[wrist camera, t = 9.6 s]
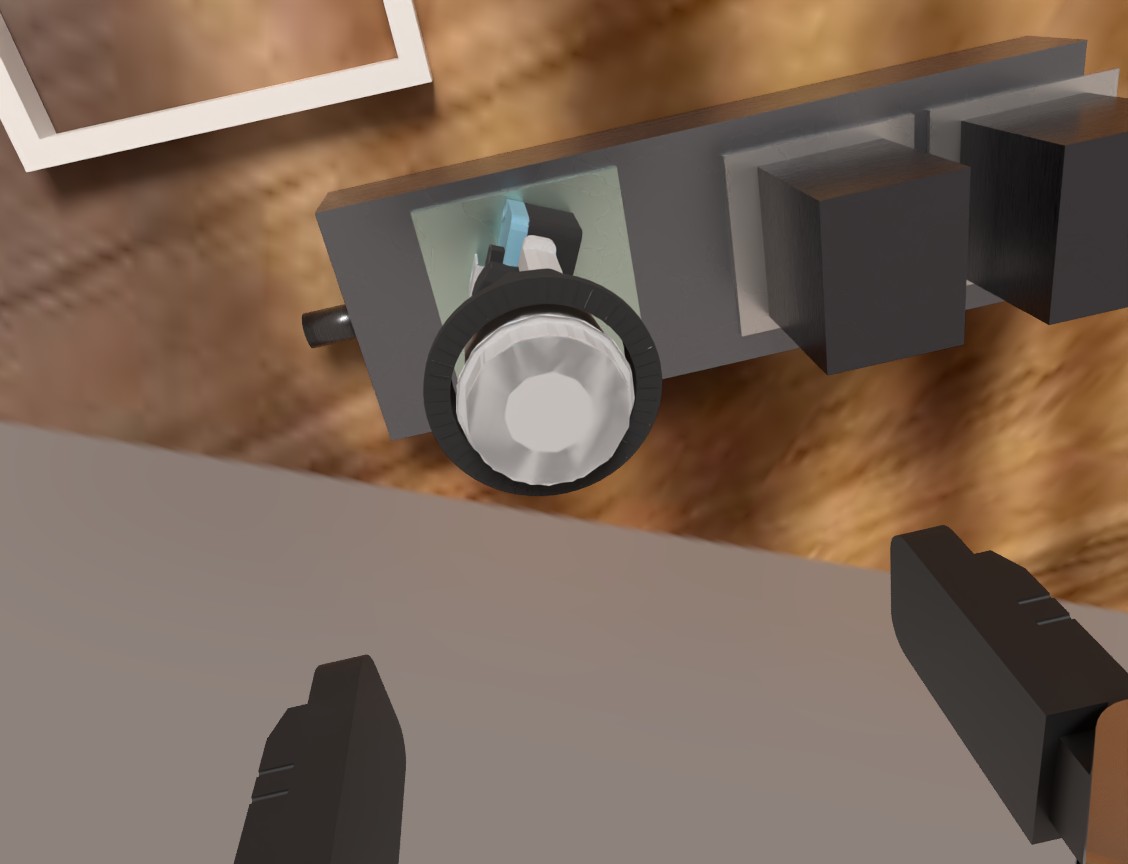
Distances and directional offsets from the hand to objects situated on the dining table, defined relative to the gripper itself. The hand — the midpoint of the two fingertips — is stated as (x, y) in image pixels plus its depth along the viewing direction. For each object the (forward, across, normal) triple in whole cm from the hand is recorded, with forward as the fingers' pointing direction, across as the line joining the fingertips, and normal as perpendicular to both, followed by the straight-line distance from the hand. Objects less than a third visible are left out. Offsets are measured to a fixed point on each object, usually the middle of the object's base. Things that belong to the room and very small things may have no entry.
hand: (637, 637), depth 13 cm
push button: (+16, +1, 0) cm, 16 cm away
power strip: (+19, -6, 0) cm, 20 cm away
